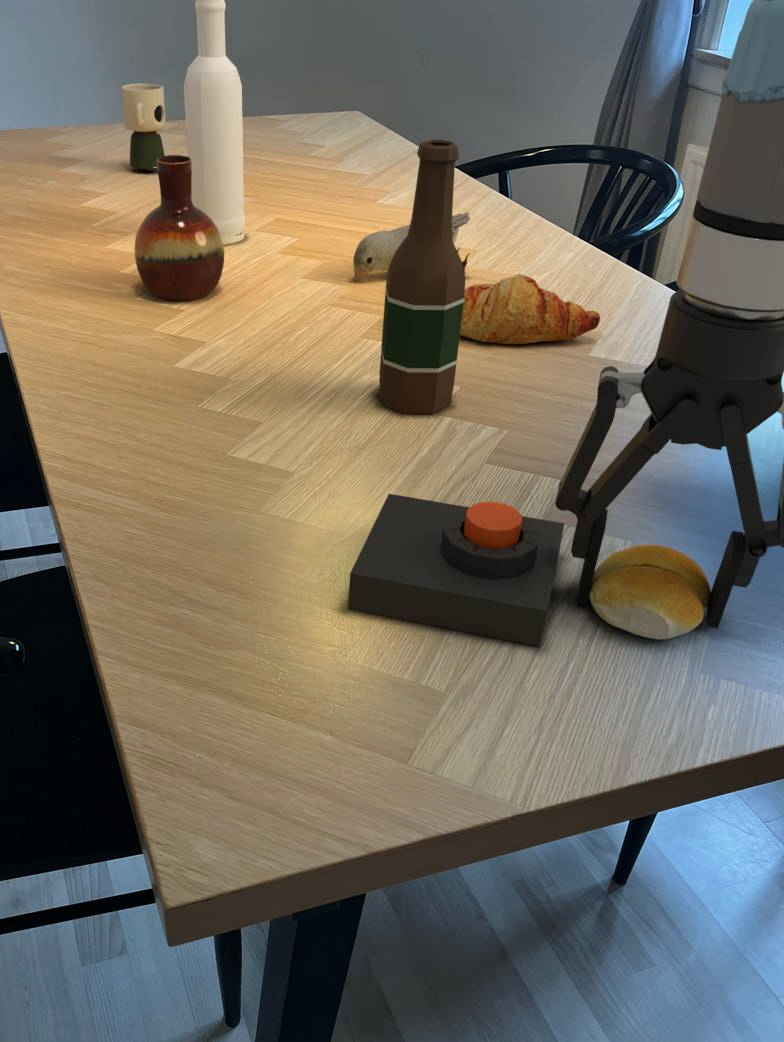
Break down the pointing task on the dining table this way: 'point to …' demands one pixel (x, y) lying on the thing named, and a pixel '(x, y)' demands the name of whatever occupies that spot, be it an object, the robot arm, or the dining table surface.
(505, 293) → the croissant
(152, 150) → the character mug
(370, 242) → the decorative bird
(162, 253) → the vase
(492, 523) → the orange button cap
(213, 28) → the bottle
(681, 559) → the bread roll
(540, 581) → the push button switch
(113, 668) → the dining table surface
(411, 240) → the beer bottle
